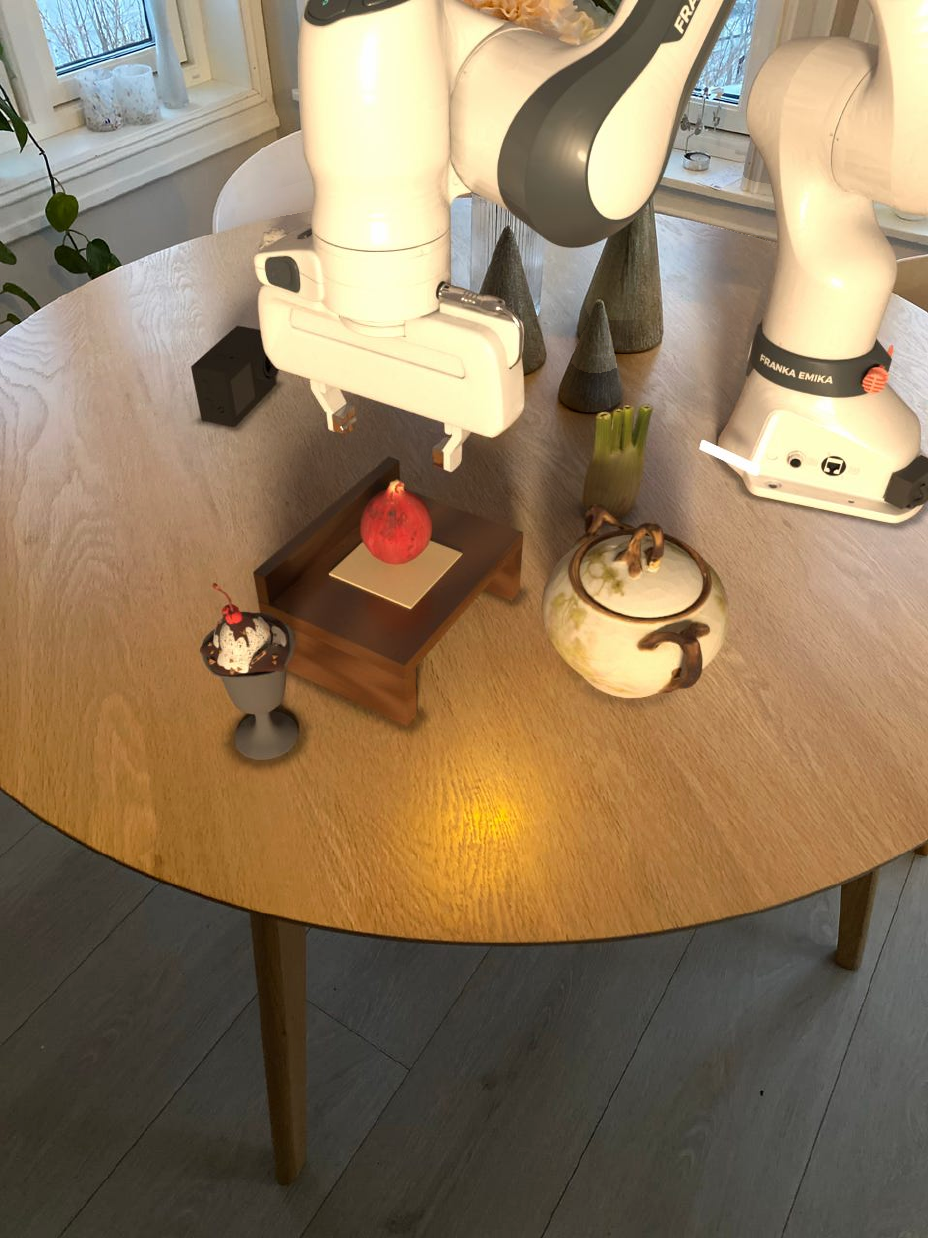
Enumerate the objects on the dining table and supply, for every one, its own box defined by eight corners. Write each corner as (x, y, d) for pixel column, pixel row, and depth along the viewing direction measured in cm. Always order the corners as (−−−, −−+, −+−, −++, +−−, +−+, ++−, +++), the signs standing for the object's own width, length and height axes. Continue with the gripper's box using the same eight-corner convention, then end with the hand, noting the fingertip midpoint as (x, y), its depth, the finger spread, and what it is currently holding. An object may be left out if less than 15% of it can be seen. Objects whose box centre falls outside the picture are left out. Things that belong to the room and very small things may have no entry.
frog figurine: (255, 285, 135) (248, 235, 130) (270, 264, 140) (264, 216, 135) (296, 288, 134) (291, 239, 130) (310, 268, 139) (306, 219, 135)
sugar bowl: (761, 729, 76) (810, 588, 66) (588, 773, 73) (612, 631, 63) (653, 575, 90) (680, 438, 80) (503, 606, 87) (511, 467, 77)
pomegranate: (423, 590, 77) (421, 509, 72) (354, 579, 78) (347, 499, 73) (439, 545, 81) (438, 467, 76) (373, 536, 82) (368, 458, 77)
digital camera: (244, 430, 107) (234, 374, 103) (201, 421, 109) (190, 365, 104) (285, 386, 115) (279, 331, 110) (245, 378, 116) (236, 324, 111)
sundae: (226, 706, 77) (193, 564, 67) (310, 702, 78) (290, 560, 68) (218, 771, 73) (181, 629, 62) (307, 766, 73) (285, 624, 63)
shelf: (519, 592, 88) (526, 503, 81) (407, 727, 76) (403, 637, 69) (392, 542, 93) (388, 455, 86) (268, 661, 81) (252, 571, 74)
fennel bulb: (636, 500, 99) (654, 397, 91) (638, 529, 95) (656, 424, 87) (580, 496, 99) (592, 393, 91) (579, 525, 96) (592, 420, 87)
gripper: (547, 285, 61) (535, 467, 70) (291, 221, 68) (312, 393, 78) (499, 325, 57) (493, 512, 66) (233, 252, 64) (262, 429, 74)
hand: (393, 447), depth 72 cm, fingers open, 8 cm apart
